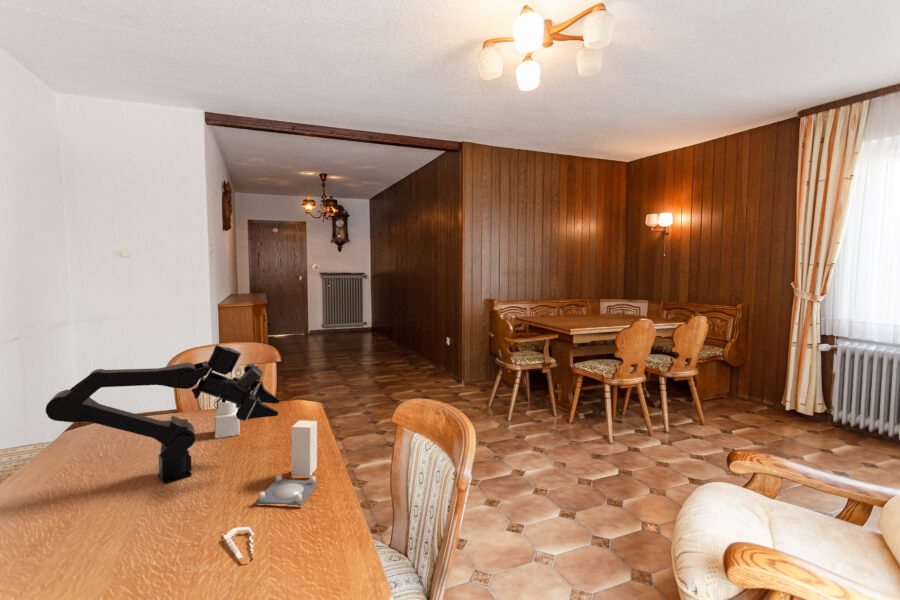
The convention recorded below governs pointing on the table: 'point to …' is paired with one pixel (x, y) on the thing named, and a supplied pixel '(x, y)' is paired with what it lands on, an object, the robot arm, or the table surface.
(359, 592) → the table surface
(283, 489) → the locating plate
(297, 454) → the block
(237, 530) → the white bent piece
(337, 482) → the table surface
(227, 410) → the medicine bottle
